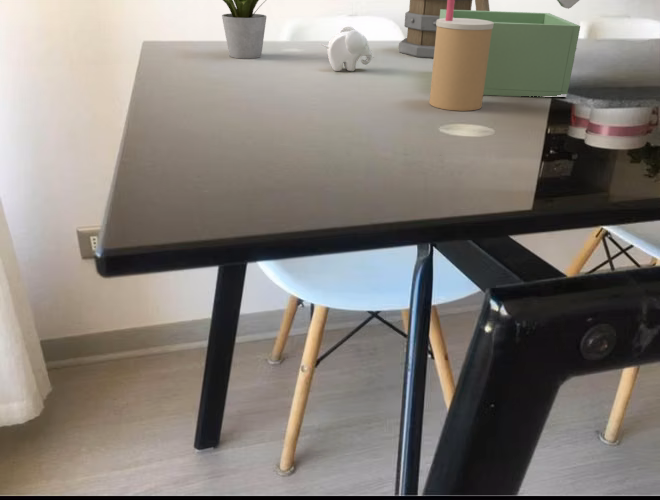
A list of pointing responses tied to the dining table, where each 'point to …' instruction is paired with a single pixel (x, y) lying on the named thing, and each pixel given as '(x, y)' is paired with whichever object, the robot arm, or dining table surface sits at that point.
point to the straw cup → (460, 62)
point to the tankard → (429, 24)
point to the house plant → (244, 29)
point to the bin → (527, 52)
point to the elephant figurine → (347, 49)
